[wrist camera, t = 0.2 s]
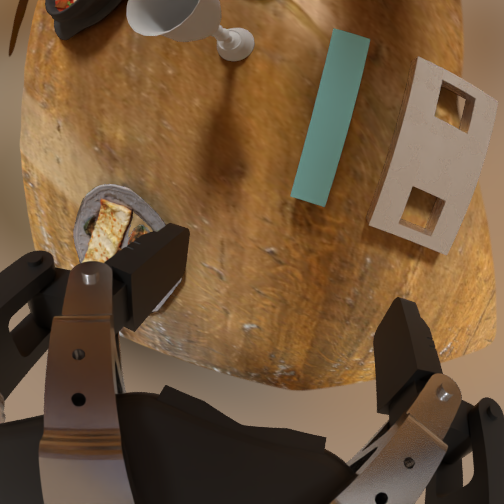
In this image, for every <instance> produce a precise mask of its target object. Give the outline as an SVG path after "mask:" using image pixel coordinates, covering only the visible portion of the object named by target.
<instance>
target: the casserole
mask: <svg viewBox="0 0 504 504" xmlns="http://www.w3.org/2000/svg"><path fill="white" fill-rule="evenodd" d="M121 1H122V0H46V1H45V6H46V10H47V12H48V13H49V14H50V15H51V16H52V18H53V19H54V28H55V32H56V34H57V36H58V37H59V38H60V39H62V40H68V39H70V38H71V37H73V36H74V35H75V34H77V33H78V32H79V31H81V30H83V29H85V28H87V27H89V26H92V25H94V24H96V23H97V22H99V21H100V20H102V19H103V18H104V17H106V16H107V15H108V14H109V13H110V12H111V11H112V10H113V9H114V8H115V7H116V6H117V5H118V4H119V3H120V2H121Z"/></svg>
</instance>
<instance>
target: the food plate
mask: <svg viewBox="0 0 504 504" xmlns="http://www.w3.org/2000/svg"><path fill="white" fill-rule="evenodd" d="M82 202H83V203H81V204H82V205H81V206H80V207H81V208H79V211H78V214H77V218H76V220H77V221H76V222H75V226H74V227H75V228H74V242H75V247H76V250H77V253H78V257H79V262H80V263H83V262H87V261H98V262H102V263H104V262H105V261H107V260H108V259H109V258H111V257H112V256H113V255H115V254H116V253H117V252H119V251H120V250H122V249H123V248H124V247H127V245H129V244H130V243H131V242H134V240H136V239H137V238H138V237H140V236H141V235H143V234H146V233H149V232H150V231H149V230H148V229H147V227H145V226H144V225H139V226H138V227H136V228H134V230H133V231H132V232H133V233H132V232H131V236H130V237H129V238H128V233H129V228H130V227H131V225H130V224H131V221H132V218H133V216H132V214H133V211H134V213H135V214H137V215H138V216H139V217H140V218H141V219H143V221H145V223H147V225H149V226H150V227H151V228H152V230H153V231H156V232H157V231H159V230H160V229H162V228H163V227H164V226H166V225H165V223H164V222H163V221H162V219H161V218H160V217H159V215H158V214H157V213H156V212H155V211H154V210H153V209H152V208H151V206H150V205H147V203H146V202H145V201H144V199H142V198H140V196H139V195H137V194H136V193H134V191H132V190H131V189H129V188H127V187H124V186H119V185H113V184H108V185H107V184H104V185H100V186H97V187H96V188H94V189H93V190H91V191H90V192H89V193H87V194H86V196H85V199H84V198H83V201H82ZM181 280H182V278H181V279H180V280H179V281H178V283H180V282H181ZM178 283H177V284H178ZM177 284H176V285H175V286H174V287H173V288H172V289H171V290H170V292H169V293H168V294H167V295H166V296H165V297H164V298H163V300H162V301H161V302H160V303H159V304H158V305H157V306H156V308H155V309H154V310H153V311H152V312H151V313H153V312H157V311H158V310H159V308H160V307H161V306H162V305H163V303H164V302H165V301H166V300H167V299H168V297H169V296H170V295H171V294H172V292H173V291H174V289H175V287H176V286H177Z"/></svg>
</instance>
